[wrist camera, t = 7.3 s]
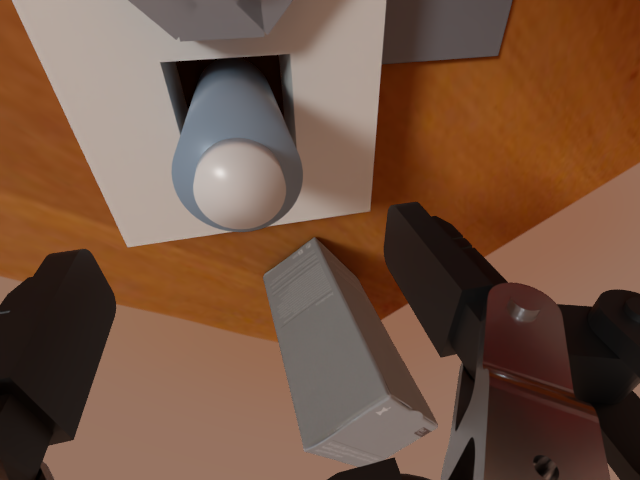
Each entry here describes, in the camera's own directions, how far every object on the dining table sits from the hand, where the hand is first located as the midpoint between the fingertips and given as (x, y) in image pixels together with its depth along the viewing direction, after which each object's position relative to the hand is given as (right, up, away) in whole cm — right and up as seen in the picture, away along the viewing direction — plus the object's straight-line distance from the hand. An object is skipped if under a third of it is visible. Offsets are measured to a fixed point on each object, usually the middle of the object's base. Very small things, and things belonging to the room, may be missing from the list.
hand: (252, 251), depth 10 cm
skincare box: (+2, -3, +24) cm, 24 cm away
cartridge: (-4, +10, +13) cm, 16 cm away
